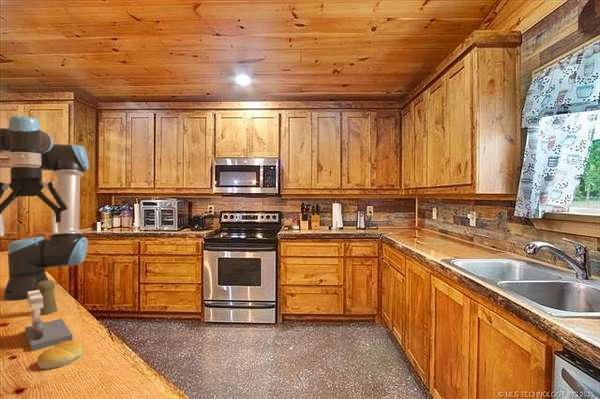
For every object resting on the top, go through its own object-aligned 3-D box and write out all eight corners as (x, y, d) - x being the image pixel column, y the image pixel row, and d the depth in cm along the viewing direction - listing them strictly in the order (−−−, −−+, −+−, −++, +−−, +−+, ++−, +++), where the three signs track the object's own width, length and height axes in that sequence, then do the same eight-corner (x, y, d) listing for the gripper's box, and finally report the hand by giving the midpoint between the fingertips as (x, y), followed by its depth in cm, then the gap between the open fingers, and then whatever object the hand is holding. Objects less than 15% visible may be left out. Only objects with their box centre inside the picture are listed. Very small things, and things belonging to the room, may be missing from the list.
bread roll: (28, 368, 78) (28, 352, 78) (64, 350, 86) (63, 335, 86) (56, 372, 76) (55, 355, 76) (89, 353, 85) (89, 338, 84)
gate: (45, 336, 90) (43, 298, 90) (33, 339, 89) (31, 300, 88) (40, 324, 99) (38, 289, 99) (28, 326, 97) (27, 291, 97)
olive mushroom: (45, 316, 111) (44, 283, 111) (30, 314, 112) (29, 283, 112) (61, 309, 117) (60, 279, 117) (47, 308, 118) (46, 278, 118)
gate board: (25, 332, 98) (24, 327, 98) (61, 323, 104) (61, 318, 104) (31, 351, 86) (31, 345, 86) (72, 339, 92) (72, 334, 92)
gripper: (-33, 165, 94) (-30, 238, 95) (71, 166, 104) (73, 232, 105) (-21, 167, 101) (-18, 235, 102) (76, 168, 111) (78, 230, 112)
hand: (29, 234), depth 103 cm, fingers open, 13 cm apart
